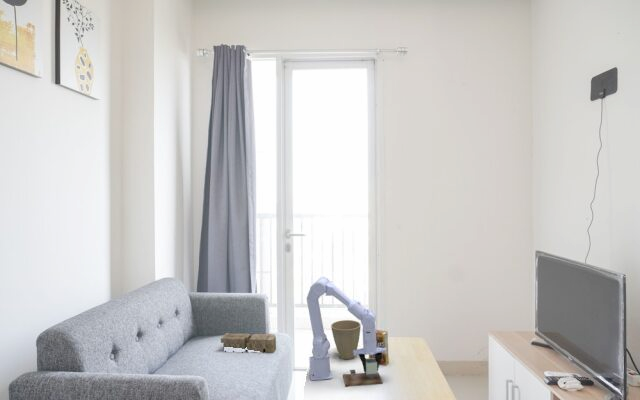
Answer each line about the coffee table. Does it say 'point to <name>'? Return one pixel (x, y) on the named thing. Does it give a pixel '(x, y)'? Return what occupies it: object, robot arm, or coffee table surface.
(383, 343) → the candy box
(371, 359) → the sleeve
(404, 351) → the coffee table surface
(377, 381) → the pin board
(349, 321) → the plant pot
